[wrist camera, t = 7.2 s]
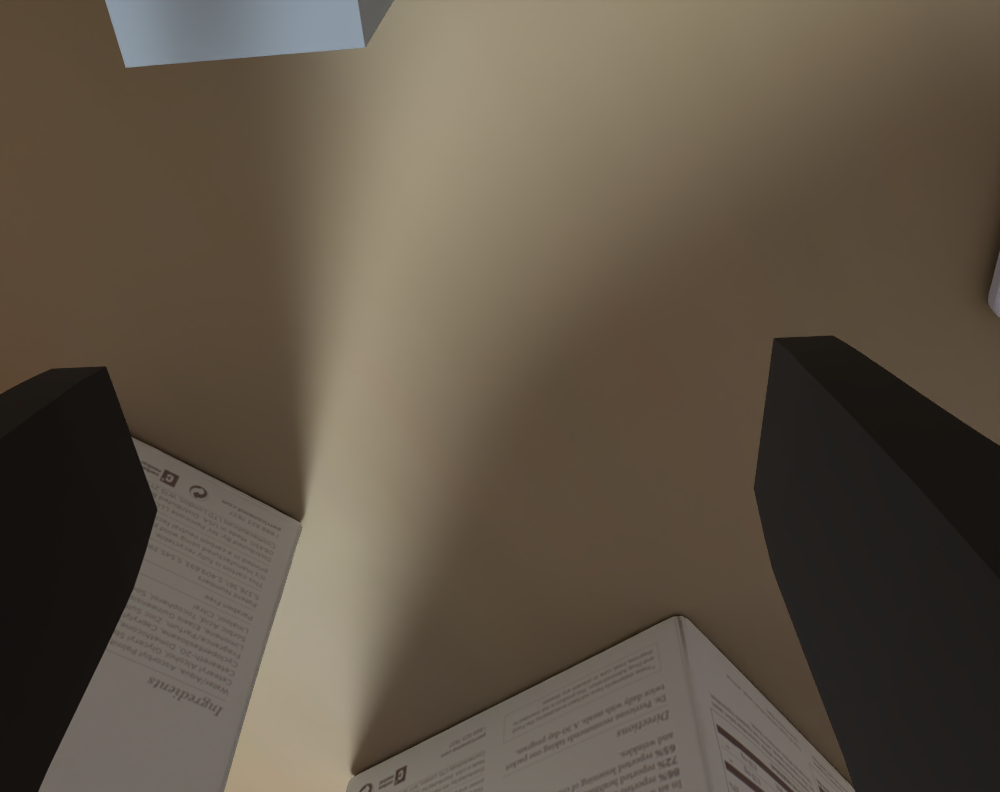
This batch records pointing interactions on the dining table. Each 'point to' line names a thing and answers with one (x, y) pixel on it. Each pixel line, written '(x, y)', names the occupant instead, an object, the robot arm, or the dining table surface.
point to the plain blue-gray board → (239, 28)
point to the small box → (181, 642)
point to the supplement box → (621, 731)
